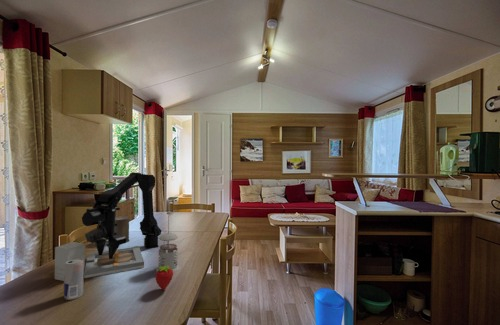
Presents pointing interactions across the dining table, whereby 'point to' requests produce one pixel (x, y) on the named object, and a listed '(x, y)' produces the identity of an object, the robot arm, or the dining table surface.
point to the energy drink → (73, 279)
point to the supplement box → (67, 257)
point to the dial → (114, 258)
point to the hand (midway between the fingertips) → (105, 257)
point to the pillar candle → (122, 226)
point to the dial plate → (96, 270)
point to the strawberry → (164, 276)
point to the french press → (168, 257)
